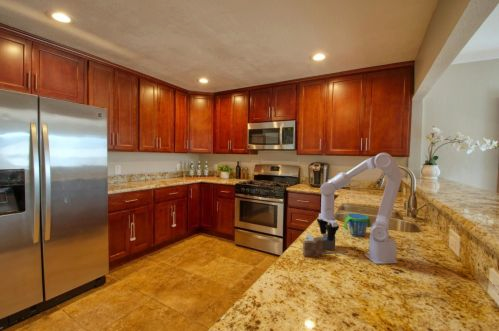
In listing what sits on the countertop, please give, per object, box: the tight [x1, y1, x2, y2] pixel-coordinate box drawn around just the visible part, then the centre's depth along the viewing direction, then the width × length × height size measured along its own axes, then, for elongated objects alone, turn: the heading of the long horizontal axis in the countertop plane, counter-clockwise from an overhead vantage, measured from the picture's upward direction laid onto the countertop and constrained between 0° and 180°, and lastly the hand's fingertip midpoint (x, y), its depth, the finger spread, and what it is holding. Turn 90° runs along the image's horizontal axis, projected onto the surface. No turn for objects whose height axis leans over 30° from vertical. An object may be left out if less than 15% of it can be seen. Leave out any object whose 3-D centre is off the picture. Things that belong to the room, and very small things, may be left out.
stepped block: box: [316, 233, 336, 251], centre depth 104 cm, size 7×4×6 cm, turn 96°
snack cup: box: [343, 212, 372, 237], centre depth 121 cm, size 16×10×10 cm
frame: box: [302, 237, 349, 258], centre depth 97 cm, size 21×4×7 cm, turn 96°
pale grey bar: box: [305, 233, 315, 241], centre depth 104 cm, size 12×2×4 cm, turn 11°
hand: (326, 237), depth 104 cm, fingers open, 7 cm apart
